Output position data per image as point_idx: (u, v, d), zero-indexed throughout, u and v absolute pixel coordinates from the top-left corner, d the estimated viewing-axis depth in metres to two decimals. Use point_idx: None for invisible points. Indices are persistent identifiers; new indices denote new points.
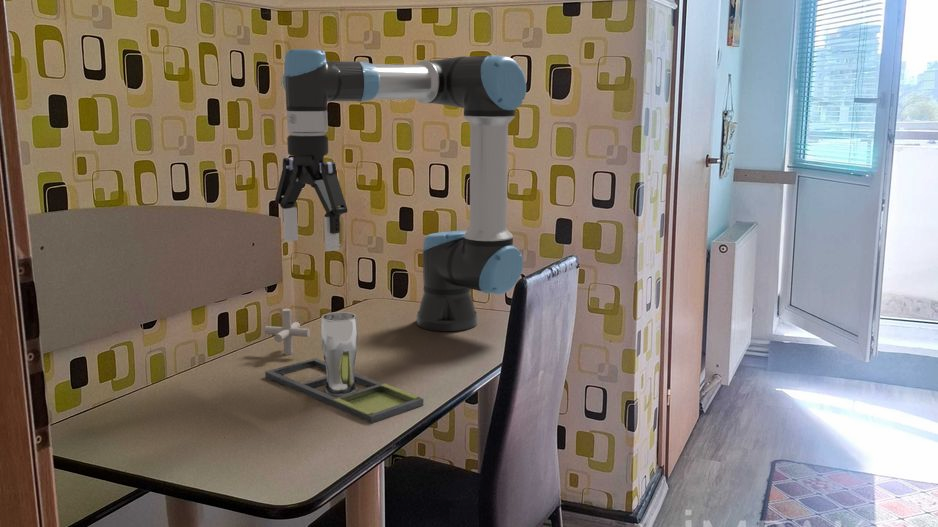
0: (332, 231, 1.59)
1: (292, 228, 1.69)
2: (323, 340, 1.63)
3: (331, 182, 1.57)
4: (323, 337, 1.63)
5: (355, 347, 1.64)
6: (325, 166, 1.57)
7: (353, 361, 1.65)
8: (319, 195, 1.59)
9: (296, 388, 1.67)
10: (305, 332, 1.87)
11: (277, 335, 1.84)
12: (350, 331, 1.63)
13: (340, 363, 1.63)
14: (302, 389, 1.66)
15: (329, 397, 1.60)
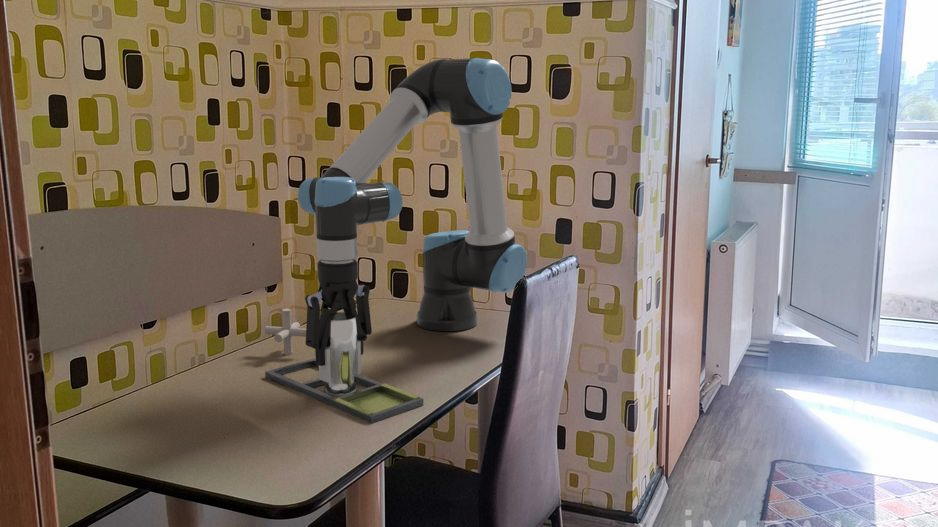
0: None
1: None
2: None
3: (309, 315, 1.60)
4: None
5: (355, 347, 1.64)
6: (306, 300, 1.60)
7: (353, 361, 1.65)
8: None
9: (296, 388, 1.67)
10: (305, 332, 1.87)
11: (277, 335, 1.84)
12: (351, 331, 1.63)
13: (340, 363, 1.63)
14: (302, 389, 1.66)
15: (329, 397, 1.60)
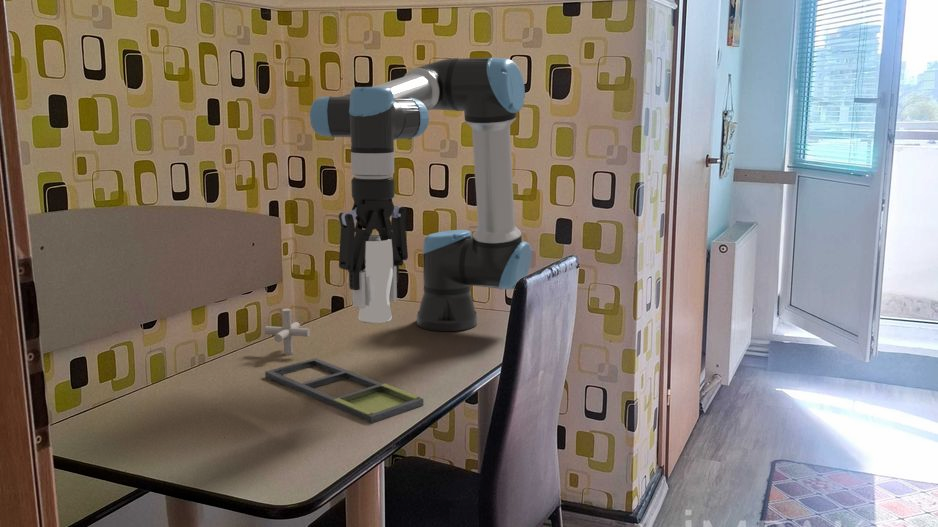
0: None
1: None
2: None
3: (343, 235, 1.49)
4: None
5: (391, 271, 1.53)
6: (339, 218, 1.49)
7: (389, 286, 1.54)
8: None
9: (296, 388, 1.67)
10: (305, 332, 1.87)
11: (277, 335, 1.84)
12: (387, 253, 1.52)
13: (376, 288, 1.52)
14: (302, 389, 1.66)
15: (329, 397, 1.60)
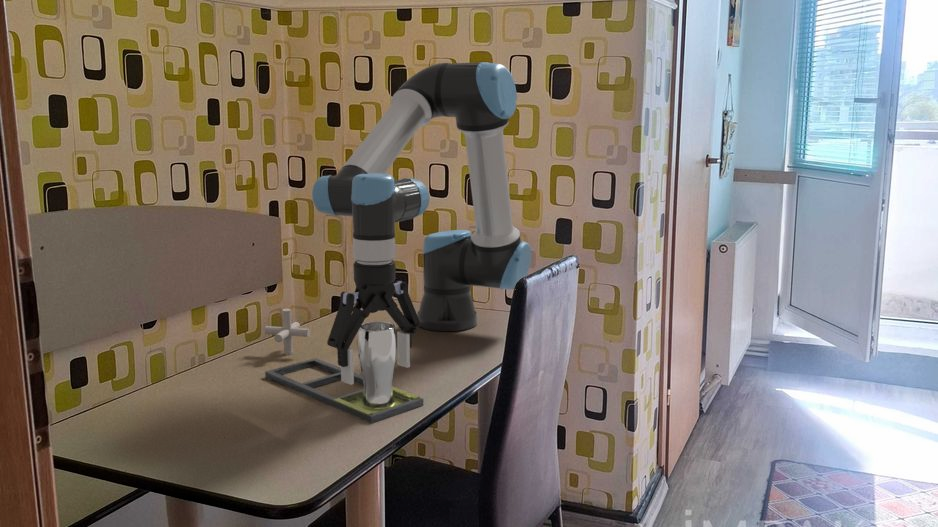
0: None
1: (402, 353, 1.62)
2: (360, 351, 1.56)
3: (339, 313, 1.51)
4: (360, 348, 1.56)
5: (394, 358, 1.57)
6: (341, 296, 1.51)
7: (391, 373, 1.58)
8: None
9: (296, 388, 1.67)
10: (305, 332, 1.87)
11: (277, 335, 1.84)
12: (389, 342, 1.55)
13: (379, 376, 1.56)
14: (302, 389, 1.66)
15: (329, 397, 1.60)
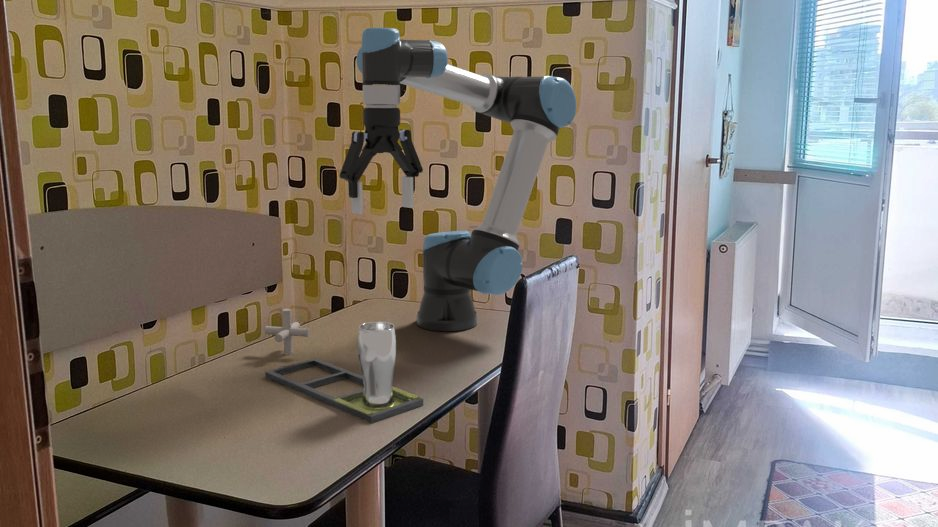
0: None
1: (406, 195, 1.83)
2: (361, 351, 1.56)
3: (351, 149, 1.71)
4: (361, 348, 1.56)
5: (394, 358, 1.57)
6: (352, 135, 1.71)
7: (392, 373, 1.58)
8: None
9: (296, 388, 1.67)
10: (306, 332, 1.87)
11: (277, 335, 1.84)
12: (389, 342, 1.55)
13: (379, 376, 1.56)
14: (302, 389, 1.66)
15: (329, 397, 1.60)
